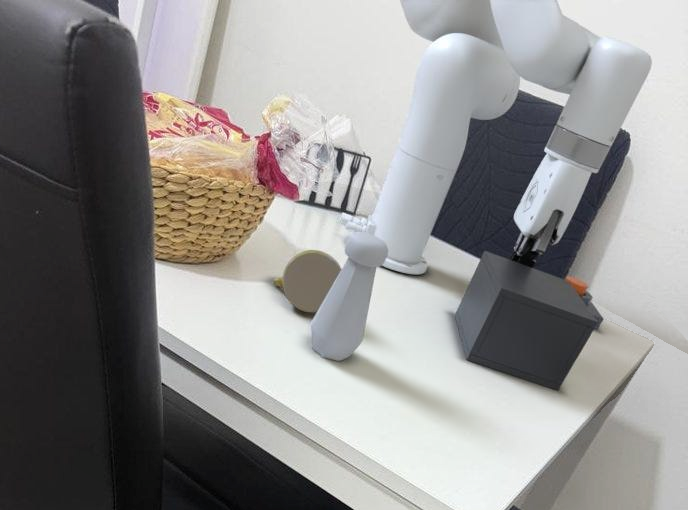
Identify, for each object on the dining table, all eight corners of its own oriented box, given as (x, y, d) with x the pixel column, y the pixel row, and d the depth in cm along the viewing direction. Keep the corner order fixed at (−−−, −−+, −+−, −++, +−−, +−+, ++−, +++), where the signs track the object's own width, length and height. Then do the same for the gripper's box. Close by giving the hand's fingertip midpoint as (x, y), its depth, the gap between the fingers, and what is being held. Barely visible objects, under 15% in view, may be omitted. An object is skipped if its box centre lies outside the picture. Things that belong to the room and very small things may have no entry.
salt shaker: (316, 332, 80) (354, 221, 73) (361, 354, 80) (404, 243, 72) (296, 347, 76) (335, 229, 68) (344, 370, 75) (388, 254, 68)
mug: (333, 295, 92) (369, 247, 84) (305, 346, 87) (340, 301, 79) (285, 262, 91) (317, 210, 82) (253, 312, 86) (284, 262, 77)
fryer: (454, 315, 101) (484, 250, 96) (535, 343, 103) (569, 281, 97) (466, 359, 89) (501, 287, 83) (558, 390, 91) (598, 322, 85)
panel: (537, 309, 118) (549, 287, 115) (527, 291, 125) (538, 269, 123) (597, 330, 119) (609, 309, 117) (583, 311, 126) (595, 290, 124)
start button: (564, 291, 118) (569, 281, 117) (558, 283, 121) (564, 273, 120) (585, 299, 119) (591, 289, 118) (579, 290, 122) (585, 281, 121)
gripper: (538, 131, 97) (480, 257, 107) (563, 150, 85) (495, 291, 95) (587, 150, 98) (525, 273, 108) (618, 172, 86) (546, 309, 96)
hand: (511, 282), depth 101 cm, fingers closed
